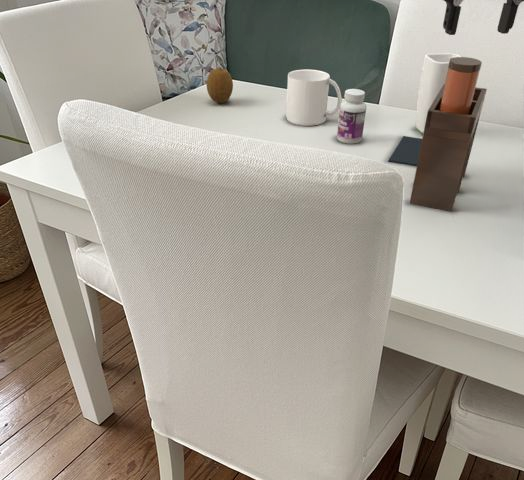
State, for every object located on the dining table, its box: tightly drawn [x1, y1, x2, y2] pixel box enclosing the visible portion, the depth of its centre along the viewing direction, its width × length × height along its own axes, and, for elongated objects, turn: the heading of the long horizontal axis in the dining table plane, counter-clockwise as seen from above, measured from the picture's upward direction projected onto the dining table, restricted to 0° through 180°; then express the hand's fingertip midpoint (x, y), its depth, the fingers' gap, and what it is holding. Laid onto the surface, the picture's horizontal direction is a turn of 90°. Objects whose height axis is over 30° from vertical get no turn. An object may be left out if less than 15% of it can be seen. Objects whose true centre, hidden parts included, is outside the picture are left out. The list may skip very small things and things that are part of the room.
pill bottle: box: [336, 88, 367, 145], centre depth 117 cm, size 5×5×10 cm
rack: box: [409, 83, 488, 212], centre depth 97 cm, size 7×16×16 cm, turn 157°
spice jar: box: [439, 56, 483, 115], centre depth 88 cm, size 5×5×9 cm
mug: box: [285, 68, 343, 127], centre depth 126 cm, size 12×9×9 cm
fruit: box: [206, 66, 234, 105], centre depth 134 cm, size 6×6×8 cm
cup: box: [415, 52, 462, 135], centre depth 119 cm, size 7×7×15 cm
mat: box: [388, 135, 422, 167], centre depth 115 cm, size 8×14×1 cm, turn 157°
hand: (476, 33), depth 85 cm, fingers open, 8 cm apart
